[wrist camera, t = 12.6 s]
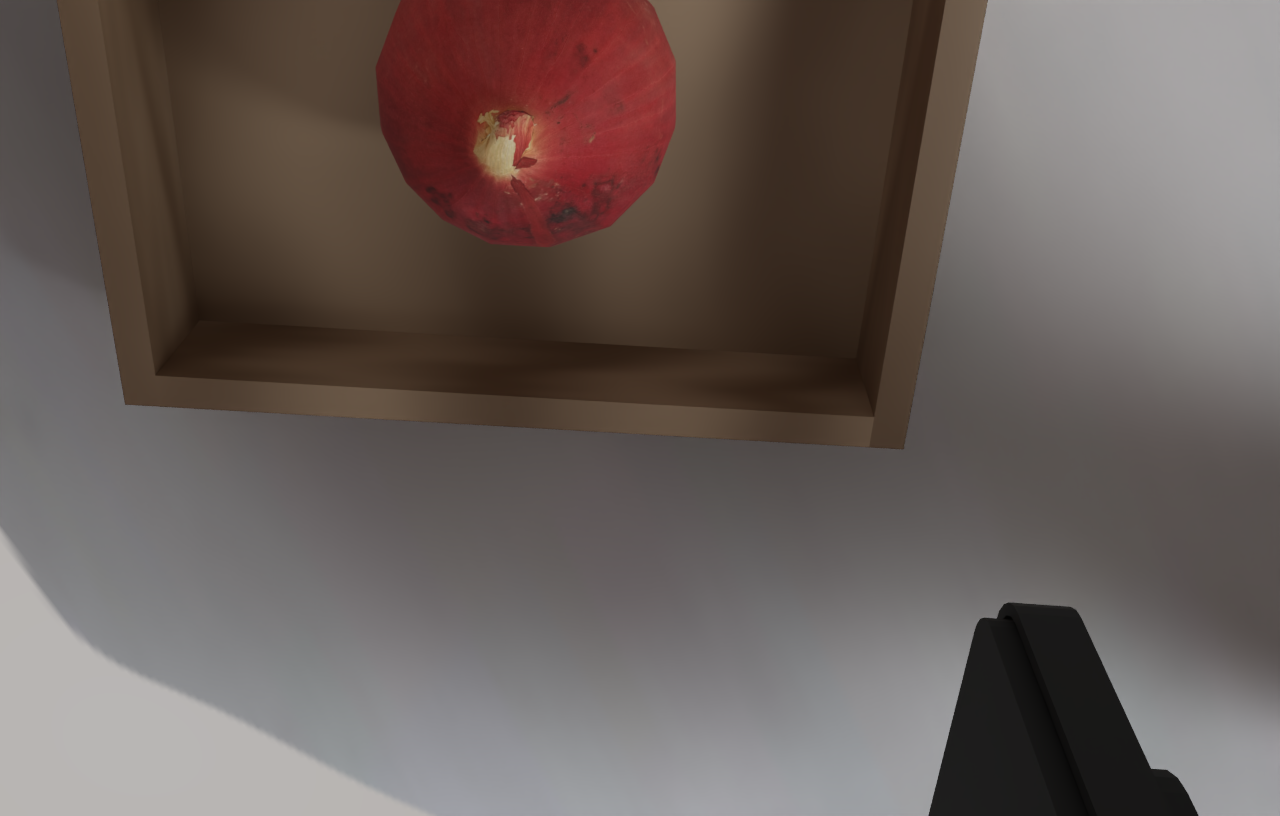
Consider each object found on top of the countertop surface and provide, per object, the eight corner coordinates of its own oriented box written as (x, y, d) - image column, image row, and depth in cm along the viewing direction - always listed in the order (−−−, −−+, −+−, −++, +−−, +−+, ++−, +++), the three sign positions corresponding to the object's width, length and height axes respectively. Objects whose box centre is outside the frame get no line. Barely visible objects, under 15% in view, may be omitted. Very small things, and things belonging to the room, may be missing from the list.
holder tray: (996, -350, 24) (1055, -366, 20) (875, 367, 32) (903, 449, 28) (87, -409, 24) (-17, -436, 20) (187, 327, 32) (124, 404, 28)
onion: (712, 128, 28) (728, 261, 21) (482, 213, 29) (423, 367, 22) (618, -132, 25) (600, -81, 18) (369, -28, 26) (262, 59, 19)
